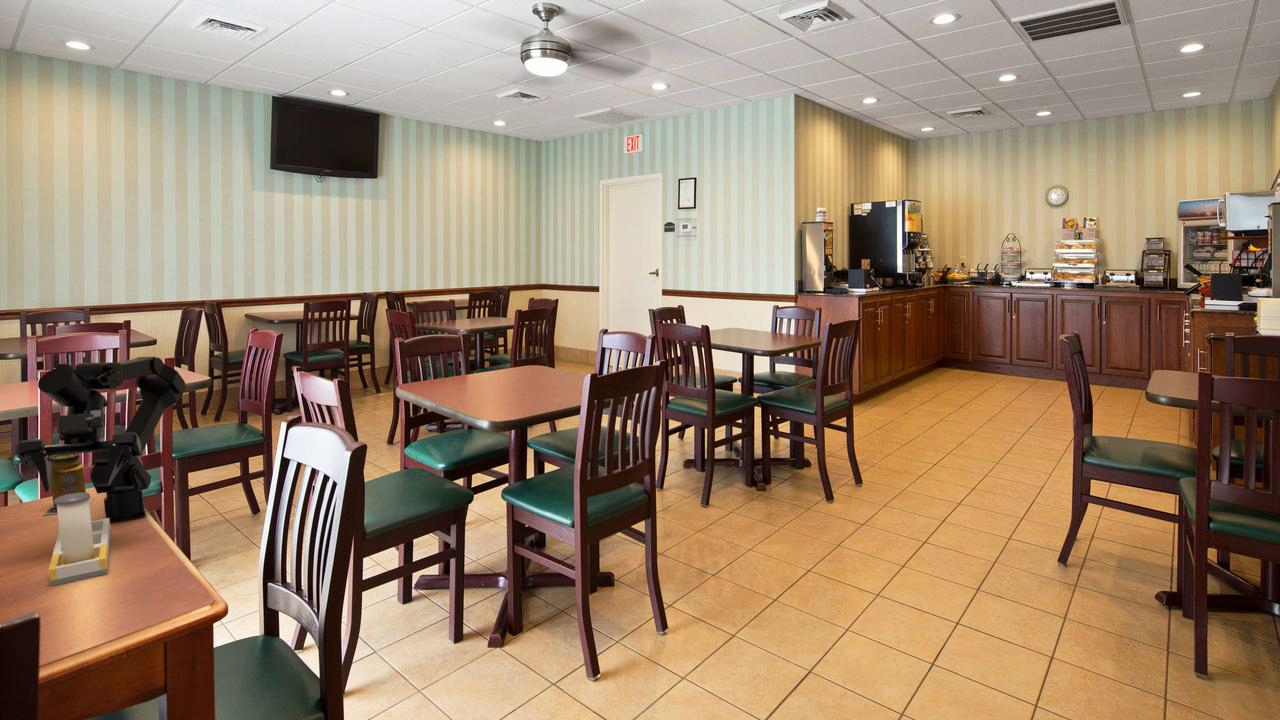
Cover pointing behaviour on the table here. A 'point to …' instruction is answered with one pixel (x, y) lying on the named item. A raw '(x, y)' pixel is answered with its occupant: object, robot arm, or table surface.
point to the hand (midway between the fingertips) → (77, 488)
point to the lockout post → (75, 527)
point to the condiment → (66, 477)
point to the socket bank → (84, 568)
